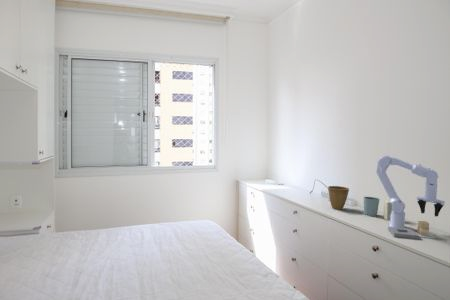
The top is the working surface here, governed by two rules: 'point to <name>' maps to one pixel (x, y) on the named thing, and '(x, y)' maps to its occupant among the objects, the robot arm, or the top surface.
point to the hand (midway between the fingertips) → (429, 214)
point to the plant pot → (338, 196)
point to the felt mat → (426, 236)
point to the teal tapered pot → (371, 206)
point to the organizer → (403, 232)
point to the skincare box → (387, 209)
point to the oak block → (423, 228)
